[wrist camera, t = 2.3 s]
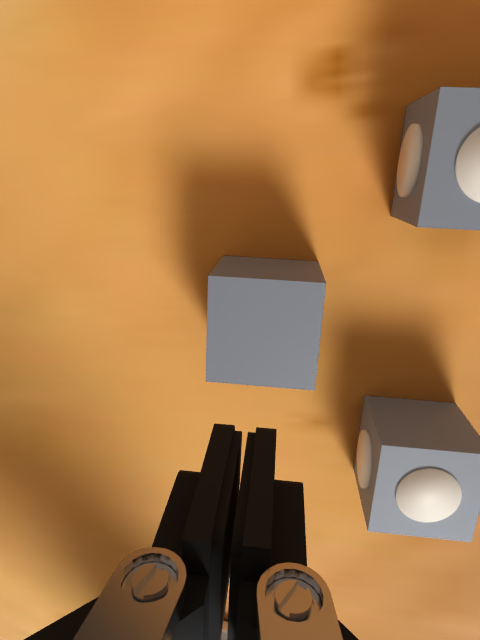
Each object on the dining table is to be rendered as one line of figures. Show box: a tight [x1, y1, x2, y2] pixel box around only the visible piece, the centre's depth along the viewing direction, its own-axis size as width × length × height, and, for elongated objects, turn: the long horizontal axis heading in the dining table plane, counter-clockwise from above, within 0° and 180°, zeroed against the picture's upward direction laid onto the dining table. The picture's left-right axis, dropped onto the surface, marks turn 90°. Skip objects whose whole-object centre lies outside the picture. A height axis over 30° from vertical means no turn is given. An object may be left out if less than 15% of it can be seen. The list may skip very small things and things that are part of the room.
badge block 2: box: [354, 396, 480, 542], centre depth 29 cm, size 6×6×6 cm
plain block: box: [206, 256, 326, 391], centre depth 27 cm, size 6×6×6 cm
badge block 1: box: [391, 87, 480, 230], centre depth 23 cm, size 6×6×6 cm
